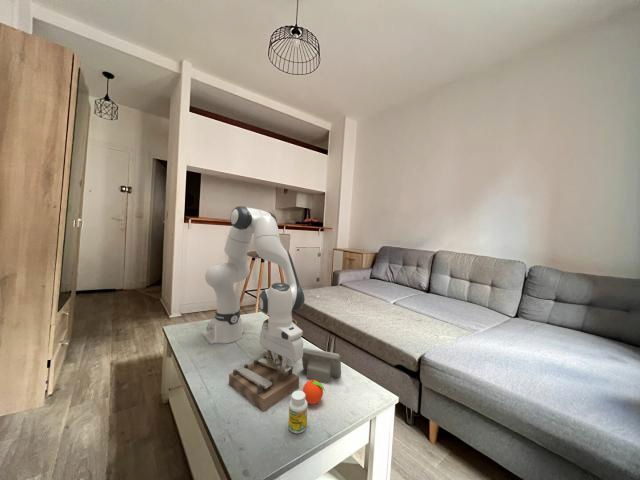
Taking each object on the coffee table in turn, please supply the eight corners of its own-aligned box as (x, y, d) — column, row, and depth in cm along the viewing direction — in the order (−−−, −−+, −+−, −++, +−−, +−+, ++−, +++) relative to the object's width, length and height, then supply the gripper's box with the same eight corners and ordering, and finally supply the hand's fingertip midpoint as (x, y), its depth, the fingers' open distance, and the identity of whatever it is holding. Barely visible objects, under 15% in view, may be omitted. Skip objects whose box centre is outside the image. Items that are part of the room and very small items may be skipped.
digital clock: (343, 376, 97) (344, 350, 96) (333, 389, 89) (335, 361, 88) (308, 364, 104) (309, 340, 104) (296, 375, 96) (297, 349, 96)
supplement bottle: (308, 421, 74) (309, 390, 73) (304, 435, 68) (305, 402, 68) (291, 418, 75) (292, 387, 74) (286, 432, 69) (287, 399, 69)
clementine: (328, 398, 84) (329, 378, 83) (321, 412, 77) (322, 391, 77) (307, 392, 87) (308, 372, 86) (298, 405, 80) (299, 384, 80)
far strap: (256, 362, 96) (256, 360, 97) (262, 359, 99) (262, 357, 99) (285, 372, 86) (284, 370, 86) (291, 368, 89) (291, 366, 89)
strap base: (228, 384, 89) (229, 366, 89) (264, 366, 102) (264, 350, 101) (263, 411, 77) (264, 391, 76) (298, 387, 89) (299, 369, 89)
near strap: (236, 372, 89) (236, 370, 89) (243, 369, 92) (243, 366, 92) (264, 389, 79) (264, 386, 79) (272, 384, 82) (272, 382, 82)
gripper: (255, 323, 94) (255, 359, 94) (293, 337, 81) (293, 378, 82) (268, 319, 99) (268, 353, 99) (306, 332, 86) (305, 370, 86)
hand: (279, 364), depth 90 cm, fingers open, 2 cm apart
